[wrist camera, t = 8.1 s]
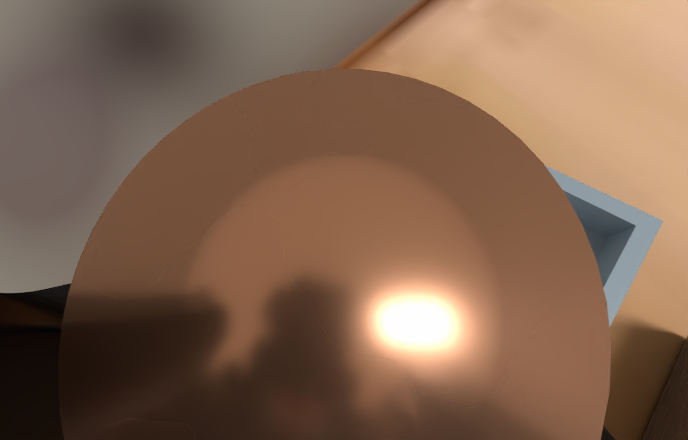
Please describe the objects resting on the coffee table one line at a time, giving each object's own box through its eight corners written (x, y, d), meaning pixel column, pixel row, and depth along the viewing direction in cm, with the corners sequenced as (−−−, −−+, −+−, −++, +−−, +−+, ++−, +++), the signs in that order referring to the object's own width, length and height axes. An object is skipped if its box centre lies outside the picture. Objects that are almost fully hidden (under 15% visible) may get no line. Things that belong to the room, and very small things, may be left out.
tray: (382, 689, 12) (380, 781, 9) (140, 398, 17) (97, 409, 14) (622, 237, 16) (663, 220, 14) (370, 110, 21) (367, 82, 19)
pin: (433, 394, 13) (691, 787, 2) (307, 377, 14) (-40, 564, 3) (433, 265, 15) (565, 59, 4) (322, 257, 16) (150, 76, 5)
